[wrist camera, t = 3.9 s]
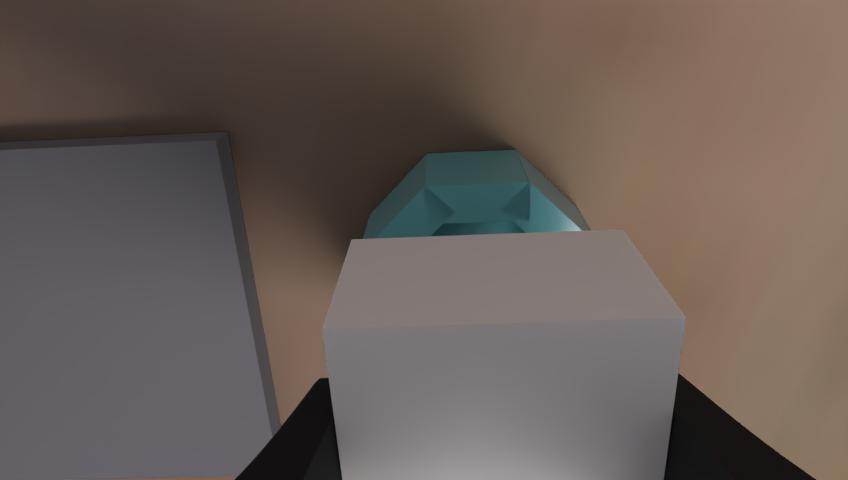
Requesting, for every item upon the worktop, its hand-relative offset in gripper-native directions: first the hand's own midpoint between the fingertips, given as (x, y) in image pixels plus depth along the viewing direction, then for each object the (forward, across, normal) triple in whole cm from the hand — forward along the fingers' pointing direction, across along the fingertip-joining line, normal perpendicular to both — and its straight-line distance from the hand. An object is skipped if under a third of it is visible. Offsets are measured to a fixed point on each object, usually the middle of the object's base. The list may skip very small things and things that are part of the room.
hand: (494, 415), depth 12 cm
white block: (+2, 0, 0) cm, 2 cm away
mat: (+8, +13, +2) cm, 15 cm away
